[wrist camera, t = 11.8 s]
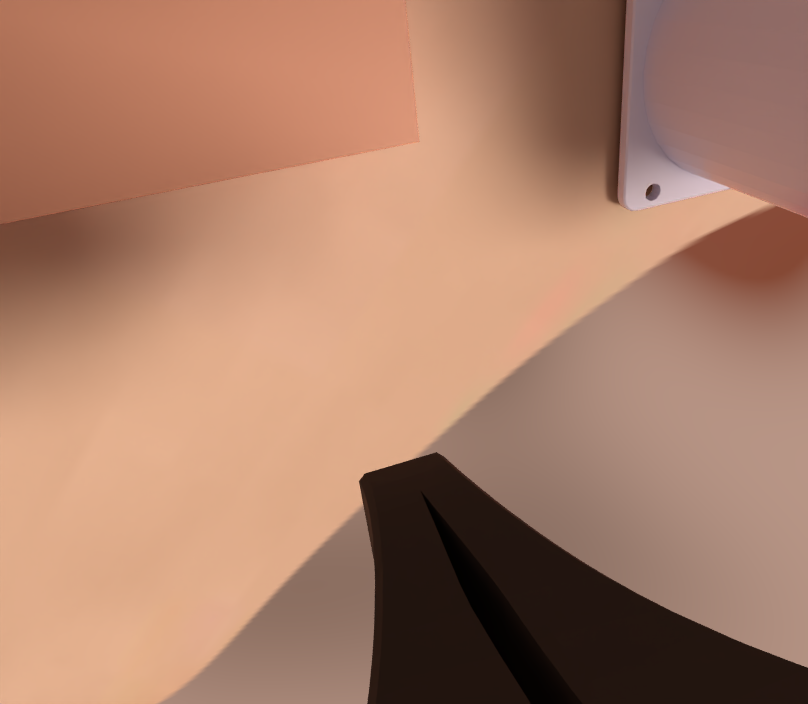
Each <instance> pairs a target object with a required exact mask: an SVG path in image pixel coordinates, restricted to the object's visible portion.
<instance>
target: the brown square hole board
mask: <svg viewBox="0 0 808 704" xmlns="http://www.w3.org/2000/svg"><path fill="white" fill-rule="evenodd" d="M416 142H419V133H418V123H417V113H416V103H415V93H414V83H413V73H412V63H411V53H410V43H409V32H408V22H407V12H406V2H405V0H0V224H5V223H10V222H15V221H20V220H25V219H30V218H35V217H40V216H45V215H50V214H55V213H61V212H66V211H71V210H76V209H81V208H86V207H91V206H96V205H101V204H106V203H111V202H116V201H121V200H126V199H132V198H137V197H142V196H147V195H152V194H157V193H162V192H167V191H172V190H177V189H182V188H187V187H192V186H197V185H203V184H208V183H213V182H218V181H223V180H228V179H233V178H238V177H243V176H248V175H253V174H258V173H263V172H268V171H274V170H279V169H284V168H289V167H294V166H299V165H304V164H309V163H314V162H319V161H324V160H329V159H334V158H339V157H345V156H350V155H355V154H360V153H365V152H370V151H375V150H380V149H385V148H390V147H395V146H400V145H405V144H411V143H416Z"/></svg>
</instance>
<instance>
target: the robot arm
mask: <svg viewBox="0 0 808 704" xmlns="http://www.w3.org/2000/svg"><path fill="white" fill-rule="evenodd" d="M650 185H653V188H652V192H651V193H650V194H649V195H648V196H646V195H645V193H646V190H647V188H648V187H649V186H650ZM727 189H734V190H737V191H739V192H742V193H744V194H747V195H750V196H752V197H755V198H758V199H760V200H763V201H765V202H768V203H771V204H773V205H776V206H779V207H781V208H784V209H786V210H789V211H792V212H795V213H797V214H799V215H802V216H805V217H807V218H808V0H627V5H626V26H625V48H624V69H623V90H622V112H621V133H620V155H619V176H618V202H619V203H620V205H621V206H623V207H625V208H626V209H628V210H630V211H638V210H642V209H647V208H651V207H655V206H659V205H664V204H668V203H672V202H676V201H681V200H685V199H689V198H693V197H698V196H702V195H706V194H710V193H715V192H719V191H723V190H727ZM359 484H360V489H361V494H362V499H363V505H364V510H365V515H366V520H367V526H368V531H369V536H370V542H371V547H372V552H373V558H374V565H375V618H374V619H375V621H374V640H373V655H372V666H371V677H370V687H369V695H368V703H367V704H808V668H807V667H804V666H801V665H799V664H796V663H793V662H791V661H788V660H785V659H783V658H780V657H777V656H775V655H772V654H770V653H767V652H764V651H762V650H759V649H757V648H754V647H752V646H749V645H746V644H744V643H742V642H739V641H737V640H734V639H732V638H730V637H728V636H725V635H723V634H721V633H718V632H717V631H714V630H712V629H710V628H708V627H705V626H703V625H701V624H698V623H697V622H694V621H692V620H690V619H688V618H685V617H683V616H681V615H679V614H677V613H674V612H672V611H670V610H668V609H666V608H664V607H662V606H660V605H658V604H657V603H655V602H653V601H650V600H649V599H647V598H645V597H643V596H641V595H639V594H637V593H635V592H633V591H632V590H630V589H628V588H626V587H625V586H623V585H621V584H619V583H617V582H616V581H614V580H612V579H610V578H609V577H607V576H605V575H603V574H602V573H600V572H598V571H597V570H595V569H594V568H592V567H590V566H589V565H587V564H585V563H584V562H582V561H580V560H579V559H577V558H576V557H574V556H573V555H571V554H570V553H568V552H567V551H565V550H564V549H562V548H561V547H559V546H558V545H556V544H554V543H553V542H551V541H550V540H549V539H547V538H546V537H544V536H543V535H541V534H540V533H539V532H537V531H536V530H534V529H533V528H532V527H530V526H529V525H528V524H526V523H525V522H523V521H522V520H521V519H520V518H518V517H517V516H515V515H514V514H513V513H511V512H510V511H509V510H507V509H506V508H505V507H503V506H502V505H501V504H499V503H498V502H497V501H495V500H494V499H493V498H492V497H490V495H488V494H487V493H486V492H484V491H483V490H482V489H481V488H480V487H478V486H477V485H476V484H475V483H474V482H472V481H471V480H470V479H469V478H467V477H466V476H465V475H464V474H463V473H461V471H459V470H458V469H457V468H456V467H455V466H454V465H453V464H451V463H450V462H449V461H448V460H447V459H446V458H445V457H444V456H442V455H440V454H438V453H437V452H436V453H433V454H430V455H426V456H423V457H419V458H416V459H413V460H409V461H406V462H403V463H399V464H396V465H392V466H389V467H386V468H382V469H379V470H376V471H372V472H369V473H366V474H364V476H363V477H362V478H361V479H360V481H359Z"/></svg>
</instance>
